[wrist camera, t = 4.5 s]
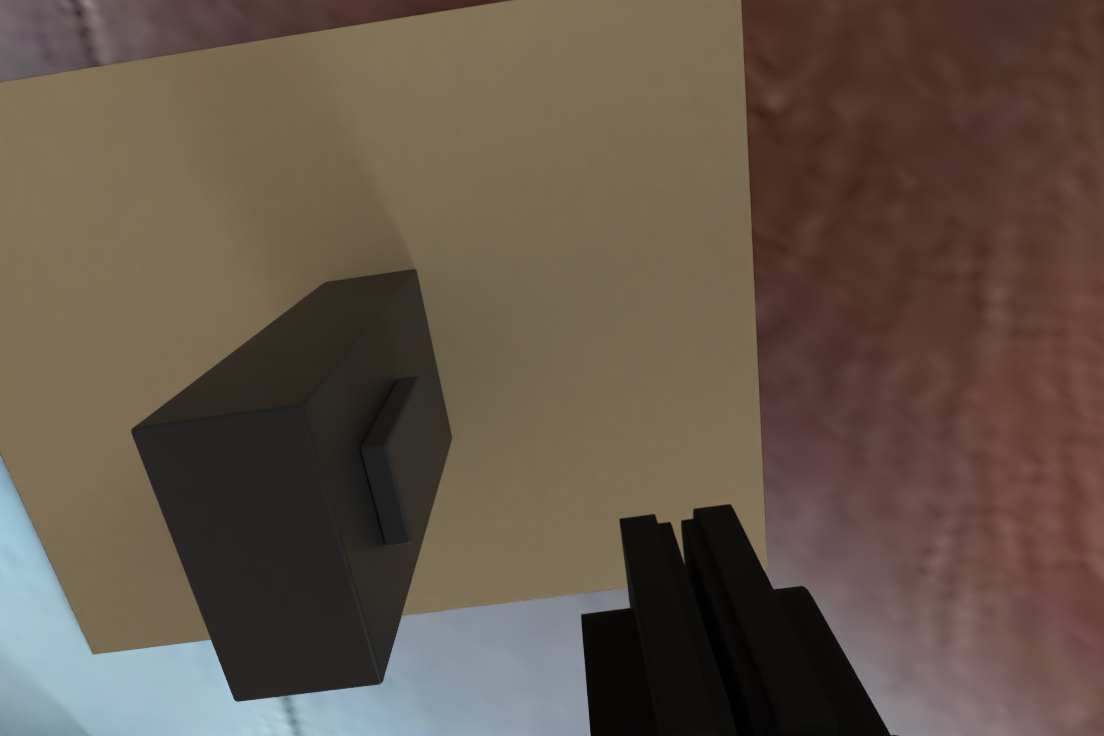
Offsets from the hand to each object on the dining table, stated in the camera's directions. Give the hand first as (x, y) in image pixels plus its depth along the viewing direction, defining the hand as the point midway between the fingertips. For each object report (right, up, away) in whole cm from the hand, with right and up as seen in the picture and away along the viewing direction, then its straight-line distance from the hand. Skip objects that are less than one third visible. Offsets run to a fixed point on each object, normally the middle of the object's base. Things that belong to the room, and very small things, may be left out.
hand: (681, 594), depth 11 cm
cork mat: (-8, +4, +13) cm, 16 cm away
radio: (-7, +4, +12) cm, 15 cm away
